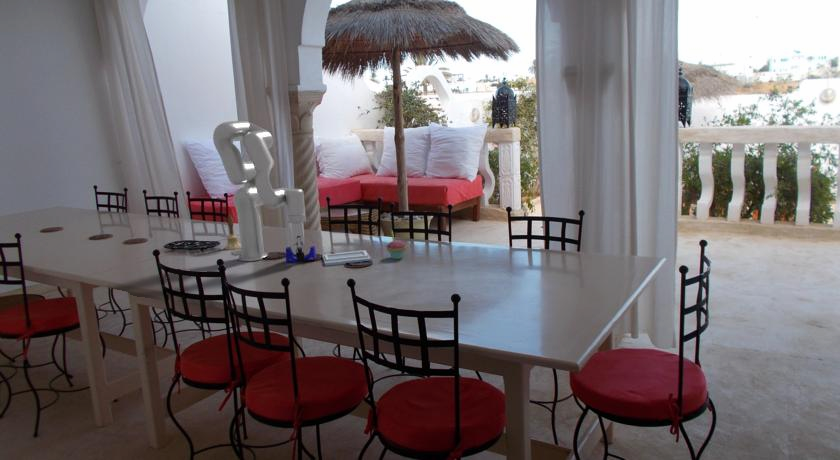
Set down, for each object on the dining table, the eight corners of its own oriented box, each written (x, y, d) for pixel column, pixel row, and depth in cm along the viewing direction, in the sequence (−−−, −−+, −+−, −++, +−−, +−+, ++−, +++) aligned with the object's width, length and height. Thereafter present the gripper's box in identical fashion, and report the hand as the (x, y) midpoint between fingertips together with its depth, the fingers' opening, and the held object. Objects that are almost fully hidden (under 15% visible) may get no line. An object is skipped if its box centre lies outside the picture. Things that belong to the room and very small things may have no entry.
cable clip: (286, 263, 272) (284, 249, 271) (288, 260, 277) (287, 246, 275) (314, 262, 272) (312, 248, 271) (316, 259, 276) (314, 245, 275)
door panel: (325, 266, 264) (324, 260, 263) (322, 257, 279) (322, 252, 279) (371, 261, 268) (370, 256, 267) (365, 252, 283) (365, 247, 283)
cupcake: (383, 259, 270) (381, 231, 268) (393, 254, 278) (391, 227, 275) (401, 260, 266) (399, 232, 264) (411, 255, 274) (409, 228, 271)
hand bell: (239, 249, 302) (236, 216, 299) (222, 250, 303) (218, 216, 299) (244, 245, 310) (241, 212, 307) (227, 246, 311) (224, 213, 307)
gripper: (287, 215, 278) (291, 256, 282) (288, 222, 262) (292, 265, 265) (304, 214, 279) (308, 254, 283) (306, 221, 263) (310, 263, 267)
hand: (300, 259), depth 274 cm, fingers open, 5 cm apart
